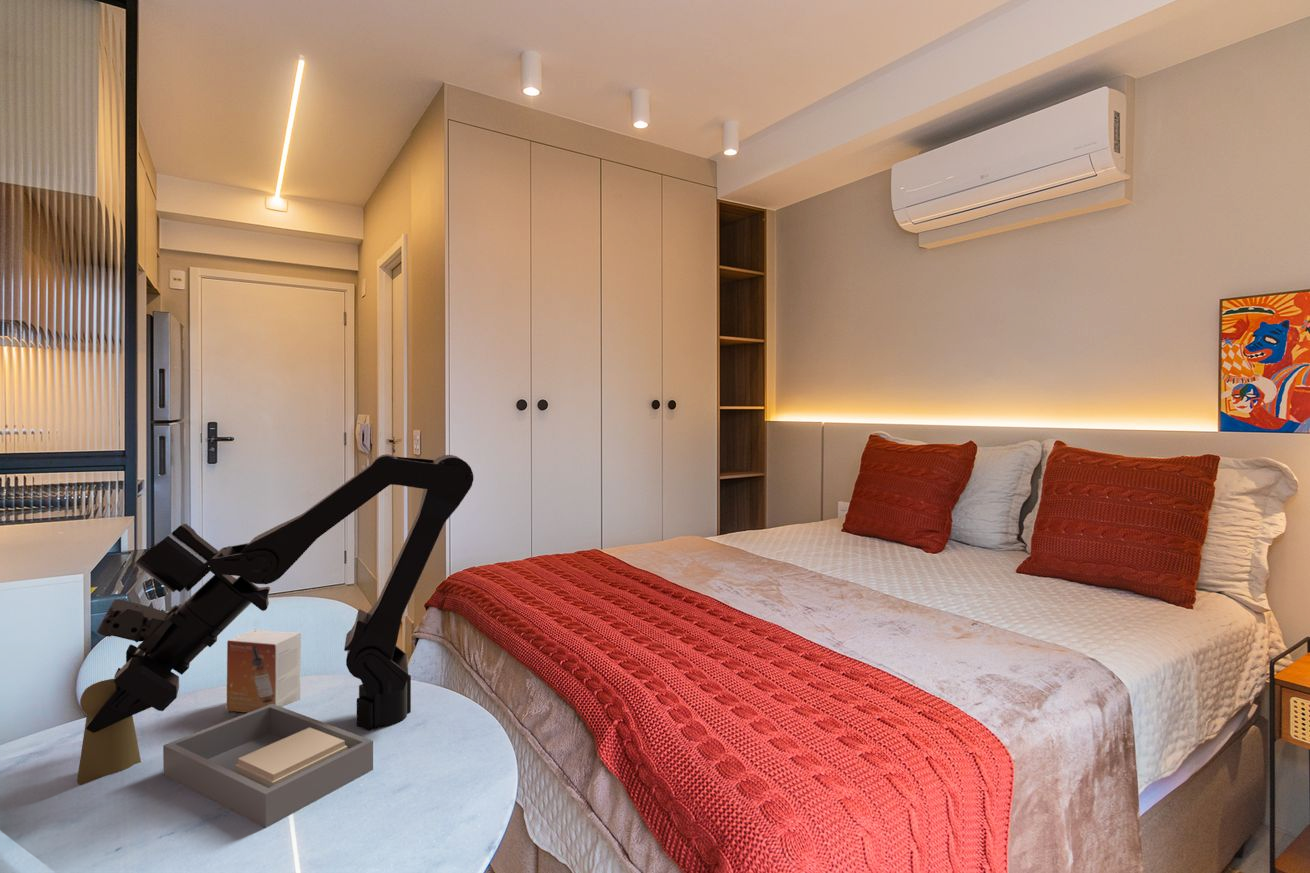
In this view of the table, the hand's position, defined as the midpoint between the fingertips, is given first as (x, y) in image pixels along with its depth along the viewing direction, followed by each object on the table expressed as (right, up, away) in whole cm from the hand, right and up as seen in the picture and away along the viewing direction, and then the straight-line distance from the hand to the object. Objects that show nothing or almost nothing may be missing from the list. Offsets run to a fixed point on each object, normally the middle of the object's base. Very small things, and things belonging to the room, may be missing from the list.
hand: (94, 721), depth 80 cm
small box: (+9, -6, +19) cm, 22 cm away
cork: (+1, -7, +1) cm, 7 cm away
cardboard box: (+25, -6, -2) cm, 26 cm away
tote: (+21, -7, 0) cm, 22 cm away
